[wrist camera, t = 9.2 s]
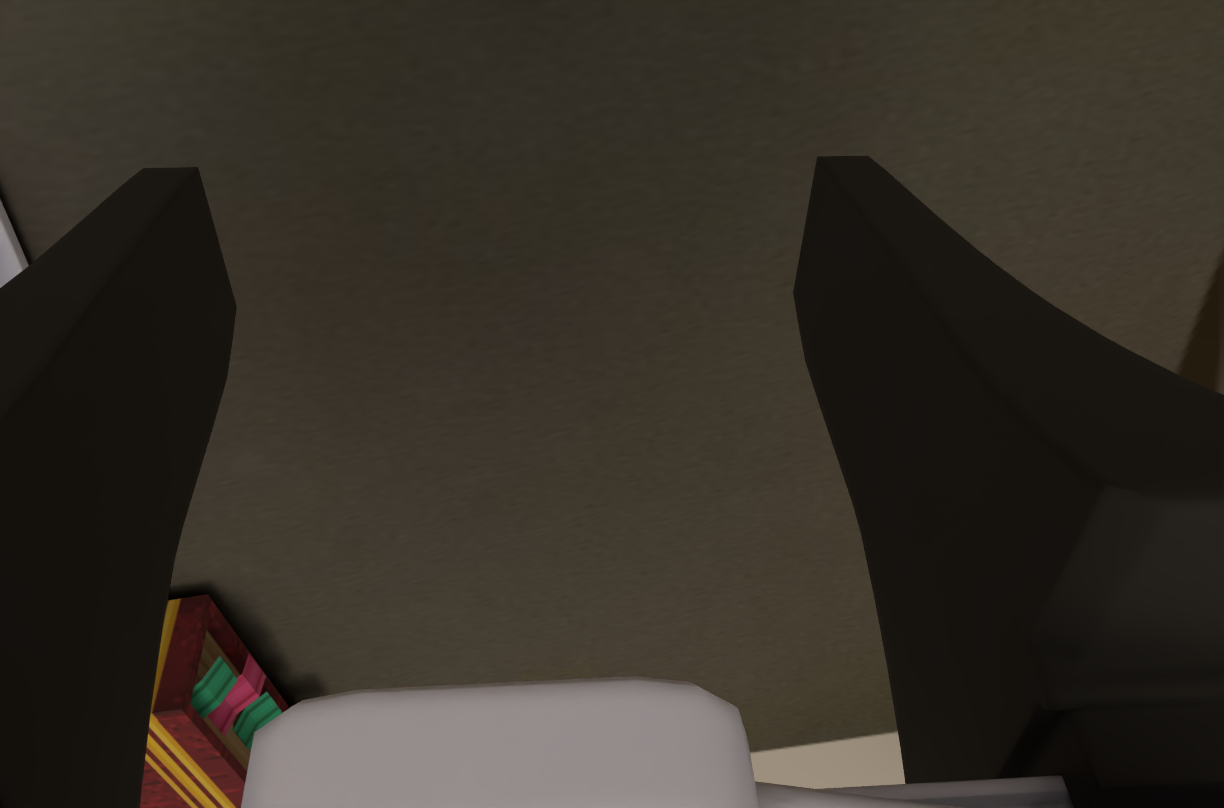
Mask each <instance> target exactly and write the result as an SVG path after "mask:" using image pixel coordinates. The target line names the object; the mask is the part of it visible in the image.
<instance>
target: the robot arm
mask: <svg viewBox="0 0 1224 808" xmlns="http://www.w3.org/2000/svg"><path fill="white" fill-rule="evenodd" d="M793 294H794V300H795V306H796V312H797V318H798V324H799V330H800V335H801V341H802V346H803V351H804V356H805V361H806V364H807V368H808V371H809V374H810V377H811V380H812V383H813V386H814V389H815V392H816V395H817V399H818V402H819V405H820V408H821V411H822V414H823V417H824V420H825V423H826V426H827V429H828V432H829V435H830V437H831V440H832V443H833V446H834V449H835V452H836V455H837V458H838V461H839V464H840V467H841V470H842V473H843V476H844V479H845V482H846V485H847V488H848V491H849V494H850V497H851V500H852V503H853V507H854V510H855V514H856V517H857V521H858V524H859V528H860V532H861V536H862V540H863V545H864V550H865V555H866V560H867V564H868V569H869V574H870V579H871V583H872V588H873V593H874V598H875V603H876V608H877V614H878V619H879V624H880V630H881V635H882V641H883V646H884V651H885V657H886V662H887V667H888V673H889V679H890V686H891V692H892V698H893V704H894V710H895V716H896V722H897V729H898V735H899V741H900V747H901V754H902V761H903V769H904V775H905V783H906V784H899V785H881V786H862V787H846V788H845V787H844V788H826V789H811V788H802V787H795V786H787V785H778V784H771V783H763V782H755V780H754V774H753V769H752V762H751V756H750V751H749V745H748V739H747V735H746V732H745V729H744V726H743V723H742V719H741V716H740V713H739V710H738V708H737V707H735V706H734V705H732V704H730V703H728V702H726V701H725V700H723V699H721V698H719V697H717V696H715V695H713V694H711V693H710V692H708V691H706V690H704V689H702V688H700V687H698V686H696V685H694V684H693V683H691V682H689V681H679V680H669V679H659V678H649V677H638V676H626V677H605V678H584V679H563V680H543V681H522V682H501V683H480V684H460V685H439V686H418V687H397V688H377V689H357V690H352V691H347V692H342V693H337V694H332V695H327V696H322V697H317V698H312V699H307V700H302V701H300V702H299V703H297V704H295V705H294V706H292V707H290V708H289V709H288V710H286V711H285V712H283V713H282V714H280V715H279V716H277V717H276V718H274V719H273V720H271V721H270V722H269V723H267V724H266V725H264V726H263V727H261V728H260V729H258V730H257V731H255V732H254V737H253V742H252V748H251V753H250V759H249V765H248V770H247V776H246V782H245V787H244V793H243V799H242V804H241V808H1224V395H1223V394H1220V393H1218V392H1215V391H1213V390H1211V389H1208V388H1206V387H1204V386H1202V385H1200V384H1197V383H1195V382H1193V381H1191V380H1188V379H1186V378H1184V377H1182V376H1180V375H1177V374H1175V373H1173V372H1171V371H1169V370H1167V369H1165V368H1163V367H1161V366H1159V365H1157V364H1155V363H1153V362H1151V361H1149V360H1147V359H1146V358H1144V357H1142V356H1140V355H1138V354H1136V353H1134V352H1132V351H1130V350H1128V349H1126V348H1124V347H1122V346H1120V345H1119V344H1117V343H1115V342H1113V341H1111V340H1109V339H1108V338H1106V337H1104V336H1102V335H1101V334H1099V333H1097V332H1096V331H1094V330H1092V329H1091V328H1089V327H1087V326H1086V325H1084V324H1083V323H1081V322H1079V321H1078V320H1076V319H1074V318H1073V317H1071V316H1069V315H1068V314H1066V313H1065V312H1063V311H1061V310H1060V309H1058V308H1056V307H1055V306H1053V305H1052V304H1050V303H1049V302H1047V301H1046V300H1045V299H1043V298H1042V297H1040V296H1039V295H1037V294H1036V293H1034V292H1033V291H1031V290H1030V289H1029V288H1027V287H1026V286H1025V285H1023V284H1022V283H1021V282H1019V281H1018V280H1016V279H1015V278H1014V277H1012V276H1011V275H1010V274H1008V273H1007V272H1006V271H1004V270H1003V269H1002V268H1000V267H999V266H997V265H996V264H995V263H994V262H992V261H991V260H990V259H989V258H987V257H986V256H985V255H983V254H982V253H981V252H980V251H978V250H977V249H976V248H975V247H973V246H972V245H971V244H970V243H969V242H967V241H966V240H965V239H964V238H963V237H961V236H960V235H959V234H958V233H957V232H955V231H954V230H953V229H952V228H951V227H950V226H948V225H947V224H946V223H945V222H944V221H943V220H941V219H940V218H939V217H938V216H937V215H936V214H934V213H933V212H932V211H931V210H930V209H929V208H928V207H927V206H925V205H924V204H923V203H922V202H921V201H920V200H919V199H918V198H916V197H915V196H914V195H913V194H912V193H911V192H910V191H909V190H907V189H906V188H905V187H904V186H903V185H902V184H901V183H900V182H898V181H897V180H896V179H895V178H894V177H893V176H892V175H890V174H889V173H888V172H887V171H886V170H885V169H884V168H882V167H881V166H880V165H879V164H878V163H876V162H875V161H874V160H873V159H871V158H870V157H869V156H830V157H817V161H816V167H815V172H814V178H813V184H812V189H811V195H810V201H809V206H808V212H807V218H806V223H805V229H804V235H803V240H802V246H801V252H800V257H799V263H798V269H797V274H796V280H795V286H794V291H793ZM236 307H237V306H236V303H235V299H234V296H233V292H232V288H231V285H230V281H229V277H228V274H227V270H226V267H225V263H224V259H223V256H222V252H221V248H220V245H219V241H218V238H217V234H216V230H215V227H214V223H213V220H212V216H211V212H210V209H209V205H208V201H207V198H206V194H205V191H204V187H203V183H202V180H201V176H200V172H199V169H198V167H187V168H144V169H142V170H141V171H140V172H138V173H137V174H136V175H134V176H133V177H132V178H130V179H129V180H128V181H127V182H126V183H124V184H123V185H122V186H121V187H120V188H118V189H117V190H116V191H115V192H114V193H113V194H112V195H110V196H109V197H108V198H107V199H106V200H105V201H104V202H102V203H101V204H100V205H99V206H98V207H97V208H96V209H94V210H93V211H92V212H91V213H90V214H89V215H88V216H87V217H85V218H84V219H83V220H82V221H81V222H80V223H79V224H77V225H76V226H75V227H74V228H73V229H72V230H70V231H69V232H68V233H67V234H66V235H65V236H63V237H62V238H61V239H60V240H59V241H58V242H56V243H55V244H54V245H53V246H52V247H51V248H49V249H48V250H47V251H46V252H45V253H44V254H42V255H41V256H40V257H39V258H38V259H37V260H35V261H34V262H33V263H32V264H31V265H28V262H27V260H26V258H25V255H24V253H23V251H22V248H21V246H20V244H19V241H18V239H17V237H16V235H15V232H14V230H13V228H12V225H11V223H10V221H9V218H8V216H7V214H6V211H5V209H4V207H3V204H2V202H1V200H0V808H140V802H141V791H142V782H143V774H144V765H145V757H146V749H147V740H148V732H149V723H150V715H151V706H152V699H153V692H154V685H155V679H156V672H157V665H158V658H159V651H160V644H161V637H162V631H163V625H164V619H165V613H166V607H167V601H168V595H169V590H170V584H171V578H172V572H173V566H174V561H175V556H176V552H177V548H178V544H179V540H180V536H181V532H182V528H183V525H184V521H185V518H186V515H187V511H188V508H189V505H190V501H191V498H192V495H193V491H194V488H195V485H196V481H197V478H198V475H199V471H200V468H201V465H202V462H203V458H204V455H205V452H206V448H207V445H208V442H209V438H210V435H211V432H212V428H213V425H214V421H215V418H216V414H217V411H218V408H219V404H220V401H221V397H222V394H223V390H224V387H225V383H226V379H227V374H228V367H229V361H230V354H231V348H232V340H233V332H234V324H235V315H236Z"/></svg>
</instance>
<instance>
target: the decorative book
mask: <svg viewBox="0 0 1224 808" xmlns="http://www.w3.org/2000/svg"><path fill="white" fill-rule="evenodd" d="M288 709H289V706H288V705H287V703H286V702H285V701H284V699H283V698H282V697H281V695H280V694H279V692H278V691H277V690H276V688H275V687H274V685H273V684H272V683H271V681H270V680H269V679H268V677H267V676H266V674H265V673H264V672H263V670H262V669H261V667H260V666H259V665H258V663H257V662H256V661H255V659H254V658H253V656H252V655H251V654H250V652H249V651H248V649H247V648H246V647H245V645H244V644H243V643H242V641H241V640H240V638H239V637H238V636H237V634H236V633H235V631H234V630H233V629H232V627H231V626H230V625H229V623H228V622H227V620H226V619H225V618H224V616H223V615H222V613H221V612H220V611H219V609H218V608H217V607H216V605H215V604H214V602H213V601H212V600H211V598H210V597H209V596H208V594H207V595H200V596H194V597H187V598H181V599H175V600H168V601H167V607H166V613H165V619H164V625H163V631H162V637H161V644H160V651H159V658H158V665H157V672H156V679H155V685H154V692H153V699H152V706H151V715H150V723H149V732H148V740H147V749H146V757H145V765H144V774H143V782H142V791H141V802H140V808H241V804H242V799H243V793H244V787H245V782H246V776H247V770H248V765H249V759H250V753H251V748H252V742H253V737H254V732H255V731H257V730H258V729H260V728H261V727H263V726H264V725H266V724H267V723H269V722H270V721H271V720H273V719H274V718H276V717H277V716H279V715H280V714H282V713H283V712H285V711H286V710H288Z"/></svg>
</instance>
